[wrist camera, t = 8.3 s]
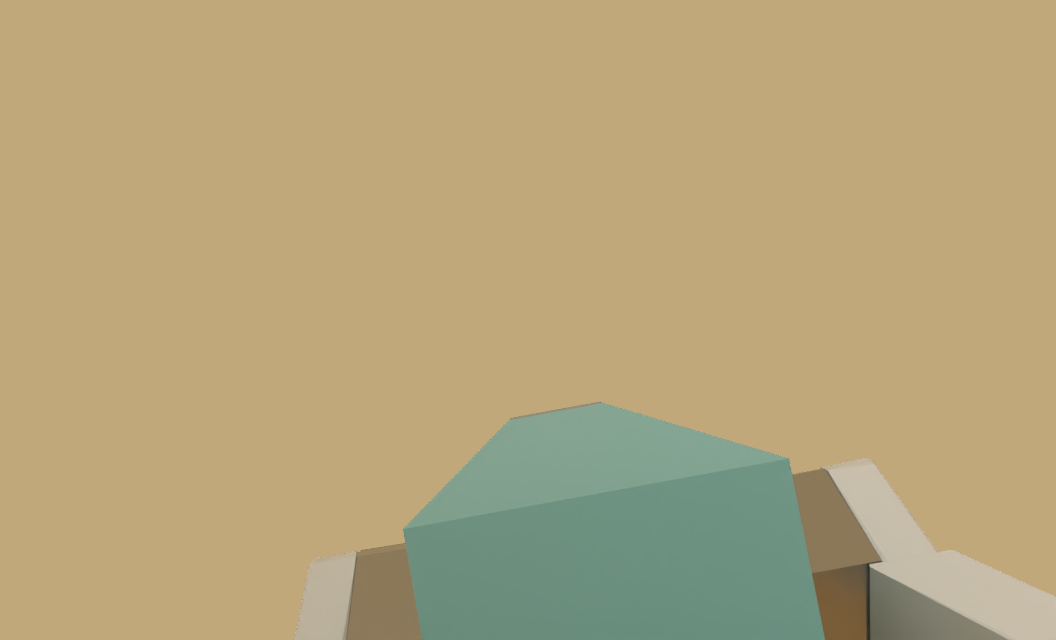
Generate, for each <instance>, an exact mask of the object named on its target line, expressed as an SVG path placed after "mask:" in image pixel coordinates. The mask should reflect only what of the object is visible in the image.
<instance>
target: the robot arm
mask: <svg viewBox="0 0 1056 640" xmlns="http://www.w3.org/2000/svg"><path fill="white" fill-rule="evenodd" d="M792 477H793V482H794V487H795V492H796V497H797V502H798V507H799V512H800V517H801V522H802V527H803V532H804V537H805V542H806V547H807V552H808V557H809V562H810V567H811V572H812V577H813V582H814V587H815V592H816V597H817V602H818V607H819V612H820V617H821V622H822V627H823V632H824V637H825V640H1056V597H1055V596H1053V595H1050V594H1048V593H1046V592H1044V591H1042V590H1039V589H1037V588H1035V587H1033V586H1031V585H1029V584H1026V583H1024V582H1022V581H1020V580H1018V579H1015V578H1013V577H1011V576H1008V575H1007V574H1004V573H1002V572H1000V571H998V570H995V569H993V568H991V567H989V566H987V565H985V564H982V563H980V562H978V561H976V560H974V559H971V558H969V557H967V556H965V555H963V554H960V553H958V552H956V551H954V550H948V551H943V552H938V551H937V550H936V548H935V547H934V545H933V544H932V542H931V541H930V540H929V538H928V537H927V536H926V534H925V533H924V532H923V530H922V529H921V527H920V526H919V524H918V523H917V522H916V520H915V519H914V517H913V516H912V515H911V513H910V512H909V511H908V509H907V508H906V506H905V505H904V504H903V502H902V501H901V499H900V498H899V497H898V495H897V494H896V493H895V491H894V490H893V488H892V487H891V485H890V484H889V483H888V481H887V480H886V478H885V477H884V476H883V474H882V473H881V472H880V470H879V469H878V467H877V466H876V465H875V463H874V462H873V461H871V460H869V459H867V458H864V459H859V460H854V461H849V462H844V463H840V464H835V465H830V466H825V467H821V468H820V469H819V470H813V471H807V472H802V473H797V474H792ZM294 640H422V636H421V630H420V624H419V619H418V613H417V607H416V601H415V595H414V589H413V584H412V578H411V572H410V566H409V560H408V554H407V549H406V543H403V544H397V545H391V546H384V547H378V548H372V549H365V550H361V551H360V552H357V551H355V552H350V553H344V554H338V555H332V556H326V557H320V558H315V559H314V561H313V562H312V563H311V565H310V566H309V568H308V572H307V577H306V583H305V588H304V593H303V598H302V604H301V608H300V613H299V618H298V624H297V628H296V633H295V639H294Z"/></svg>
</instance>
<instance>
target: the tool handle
mask: <svg viewBox="0 0 1056 640" xmlns="http://www.w3.org/2000/svg"><path fill="white" fill-rule="evenodd" d="M403 531H404V537H405V543H406V549H407V554H408V560H409V566H410V572H411V578H412V584H413V589H414V595H415V601H416V607H417V613H418V619H419V624H420V630H421V636H422V640H825V637H824V632H823V627H822V622H821V617H820V612H819V607H818V602H817V597H816V592H815V587H814V582H813V577H812V572H811V567H810V562H809V557H808V552H807V547H806V542H805V537H804V532H803V527H802V522H801V517H800V512H799V507H798V502H797V497H796V492H795V487H794V482H793V477H792V472H791V467H790V462H789V459H788V458H785V457H782V456H779V455H775V454H772V453H769V452H765V451H762V450H759V449H755V448H752V447H749V446H745V445H742V444H739V443H735V442H732V441H729V440H725V439H722V438H718V437H715V436H712V435H709V434H705V433H701V432H699V431H695V430H692V429H689V428H685V427H682V426H678V425H675V424H672V423H668V422H665V421H662V420H658V419H655V418H651V417H648V416H645V415H641V414H638V413H635V412H632V411H628V410H625V409H622V408H618V407H615V406H612V405H608V404H605V403H602V402H596V403H591V404H585V405H580V406H574V407H569V408H563V409H558V410H552V411H547V412H541V413H536V414H531V415H526V416H519V417H514V418H511V419H510V420H509V421H508V422H507V423H506V424H505V425H504V426H503V427H502V428H501V429H500V430H499V431H498V432H497V433H496V434H495V435H494V436H493V437H492V438H491V439H490V440H489V441H488V443H487V444H486V445H484V447H483V448H482V449H481V450H480V451H479V452H478V453H477V454H476V455H475V456H474V457H473V458H472V459H471V460H470V461H469V462H468V463H467V464H466V465H465V466H464V467H463V468H462V469H461V470H460V471H459V472H458V473H457V474H456V475H455V476H454V477H453V478H452V479H451V480H450V481H449V482H448V484H447V485H446V486H445V487H444V488H443V489H442V490H441V491H440V492H439V493H438V494H437V495H436V496H435V497H434V498H433V499H432V500H431V501H430V502H429V503H428V504H427V505H426V506H425V507H424V508H423V509H422V510H421V511H420V512H419V513H418V514H417V515H416V516H415V517H414V518H413V520H412V521H411V522H410V523H409V524H408V525H407V526H406V527H405V528H404V529H403Z"/></svg>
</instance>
